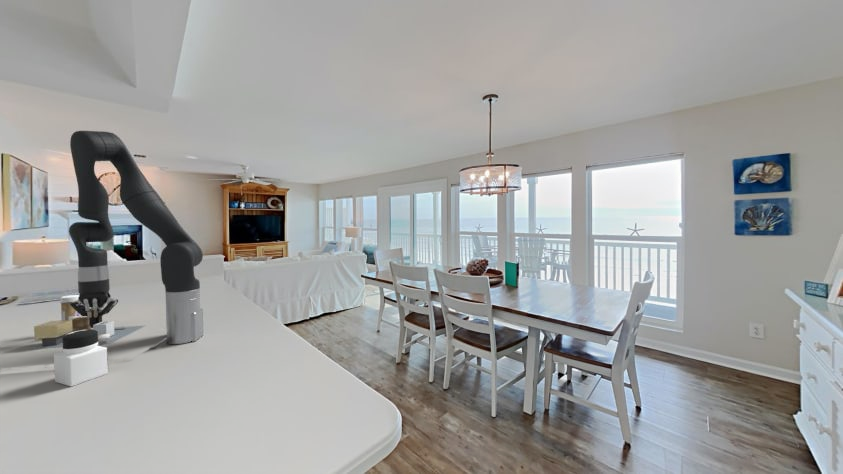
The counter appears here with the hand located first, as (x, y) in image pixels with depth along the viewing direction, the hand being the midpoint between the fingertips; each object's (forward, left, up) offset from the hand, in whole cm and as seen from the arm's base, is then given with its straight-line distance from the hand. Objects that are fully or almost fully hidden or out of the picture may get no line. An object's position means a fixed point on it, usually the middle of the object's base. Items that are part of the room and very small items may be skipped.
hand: (95, 327), depth 108 cm
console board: (-4, +6, -3) cm, 8 cm away
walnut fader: (+4, 0, -1) cm, 4 cm away
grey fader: (-8, +8, -1) cm, 11 cm away
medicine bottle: (-21, +36, -3) cm, 42 cm away
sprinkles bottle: (+10, -5, -3) cm, 12 cm away
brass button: (+3, +11, +2) cm, 12 cm away
